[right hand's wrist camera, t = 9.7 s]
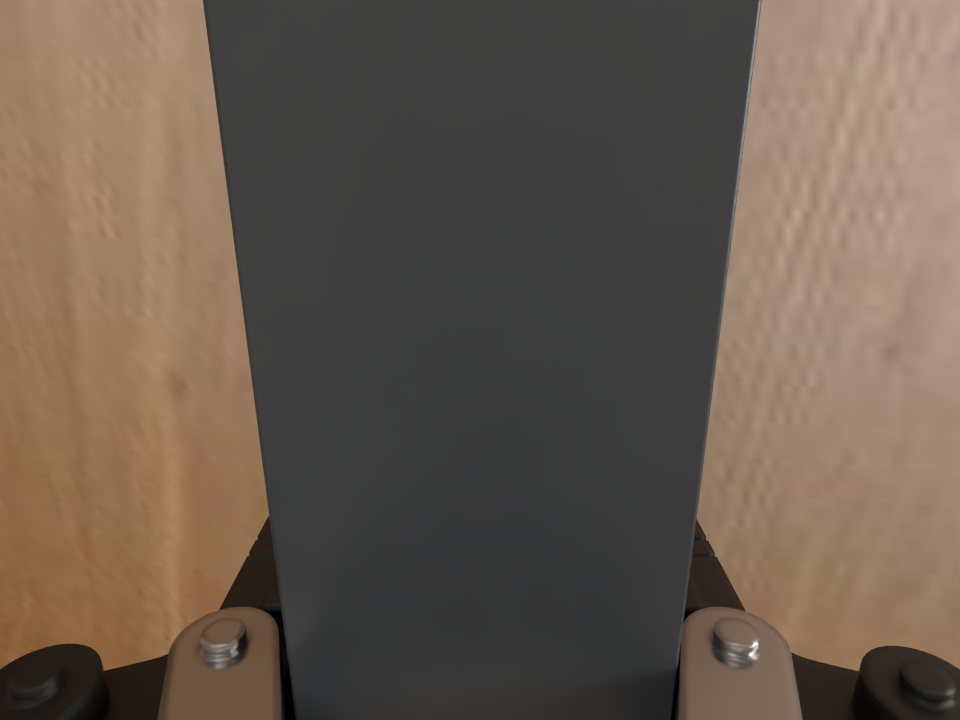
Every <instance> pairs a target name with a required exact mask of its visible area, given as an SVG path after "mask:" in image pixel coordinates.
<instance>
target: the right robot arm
mask: <svg viewBox="0 0 960 720" xmlns="http://www.w3.org/2000/svg"><path fill="white" fill-rule="evenodd" d="M0 720H296V718H295V710H294V703H293V695H292V687H291V679H290V672H289V664H288V656H287V648H286V641H285V633H284V625H283V617H282V609H281V602H280V594H279V586H278V578H277V571H276V563H275V555H274V547H273V540H272V532H271V524H270V516H269V517H268V518H267V520H266V522H265V524H264V526H263V528H262V529H261V531H260V533H259V535H258V540H256V541H255V543H254V545H253V547H252V548H251V550H250V555H249V556H247V558H246V560H245V562H244V564H243V566H242V568H241V569H240V571H239V573H238V575H237V577H236V579H235V581H234V583H233V585H232V587H231V588H230V590H229V592H228V594H227V596H226V598H225V600H224V602H223V604H222V606H221V607H220V609H219V610H218V611H215V612H212V613H209V614H207V615H205V616H203V617H201V618H199V619H198V620H196V621H194V622H193V623H191V624H190V625H189V626H187V627H186V628H185V629H184V630H183V631H182V632H181V633H180V634H179V635H178V636H177V638H176V639H175V640H174V642H173V644H172V646H171V648H170V651H169V654H167V655H164V656H162V657H159V658H155V659H152V660H148V661H144V662H140V663H136V664H131V665H127V666H123V667H119V668H115V669H111V670H106V671H104V670H103V666H102V662H101V659H100V656H99V655H98V653H97V652H96V651H95V650H93V649H92V648H90V647H87V646H85V645H79V644H61V645H54V646H50V647H46V648H42V649H39V650H36V651H34V652H31V653H29V654H26V655H24V656H22V657H20V658H18V659H16V660H14V661H13V662H11V663H9V664H8V665H6V666H4V667H3V668H2V669H0ZM671 720H960V670H959V669H958V668H956V667H955V666H953V665H952V664H950V663H948V662H946V661H944V660H942V659H940V658H938V657H936V656H934V655H931V654H929V653H926V652H923V651H920V650H917V649H913V648H908V647H901V646H883V647H878V648H875V649H873V650H871V651H869V652H868V653H866V655H865V656H864V657H863V659H862V662H861V665H860V669H859V671H854V670H850V669H846V668H842V667H838V666H834V665H829V664H825V663H821V662H817V661H813V660H810V659H806V658H803V657H801V656H798V655H795V654H793V653H791V651H790V648H789V646H788V644H787V642H786V640H785V639H784V638H783V636H782V635H781V634H780V633H779V632H778V631H777V630H776V629H775V628H774V627H773V626H771V625H770V624H769V623H767V622H766V621H764V620H762V619H761V618H759V617H757V616H755V615H753V614H751V613H748V612H746V611H745V609H744V607H743V605H742V603H741V601H740V600H739V598H738V596H737V594H736V592H735V590H734V588H733V586H732V585H731V583H730V581H729V579H728V577H727V575H726V573H725V572H724V570H723V568H722V566H721V564H720V562H719V560H718V558H717V557H715V553H714V551H713V549H712V547H711V545H710V543H709V542H708V541H706V536H705V534H704V532H703V530H702V528H701V527H700V525H699V523H698V521H697V519H696V525H695V533H694V541H693V549H692V557H691V565H690V573H689V581H688V589H687V597H686V605H685V613H684V620H683V628H682V636H681V644H680V652H679V660H678V668H677V676H676V684H675V692H674V700H673V708H672V716H671Z"/></svg>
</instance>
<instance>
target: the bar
mask: <svg viewBox="0 0 960 720" xmlns="http://www.w3.org/2000/svg"><path fill="white" fill-rule="evenodd" d="M761 2H762V0H203V4H204V12H205V19H206V27H207V35H208V43H209V51H210V58H211V66H212V74H213V82H214V89H215V97H216V105H217V113H218V120H219V128H220V136H221V144H222V151H223V159H224V167H225V175H226V182H227V190H228V198H229V206H230V214H231V221H232V229H233V237H234V245H235V252H236V260H237V268H238V276H239V283H240V291H241V299H242V307H243V314H244V322H245V330H246V338H247V346H248V353H249V361H250V369H251V377H252V384H253V392H254V400H255V408H256V415H257V423H258V431H259V439H260V446H261V454H262V462H263V470H264V477H265V485H266V493H267V501H268V509H269V516H270V524H271V532H272V540H273V547H274V555H275V563H276V571H277V578H278V586H279V594H280V602H281V609H282V617H283V625H284V633H285V641H286V648H287V656H288V664H289V672H290V679H291V687H292V695H293V703H294V710H295V718H296V720H671V716H672V708H673V700H674V692H675V684H676V676H677V668H678V660H679V652H680V644H681V636H682V628H683V620H684V613H685V605H686V597H687V589H688V581H689V573H690V565H691V557H692V549H693V541H694V533H695V525H696V517H697V509H698V502H699V494H700V486H701V478H702V470H703V462H704V454H705V446H706V438H707V430H708V422H709V414H710V406H711V398H712V391H713V383H714V375H715V367H716V359H717V351H718V343H719V335H720V327H721V319H722V311H723V303H724V295H725V287H726V280H727V272H728V264H729V256H730V248H731V240H732V232H733V224H734V216H735V208H736V200H737V192H738V184H739V176H740V169H741V161H742V153H743V145H744V137H745V129H746V121H747V113H748V105H749V97H750V89H751V81H752V73H753V65H754V58H755V50H756V42H757V34H758V26H759V18H760V10H761Z"/></svg>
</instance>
